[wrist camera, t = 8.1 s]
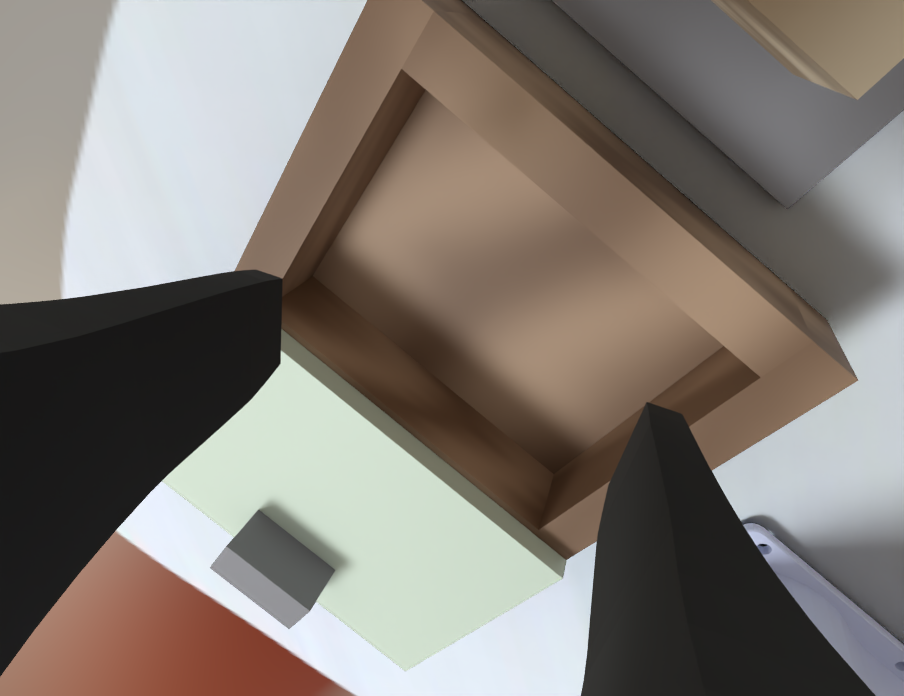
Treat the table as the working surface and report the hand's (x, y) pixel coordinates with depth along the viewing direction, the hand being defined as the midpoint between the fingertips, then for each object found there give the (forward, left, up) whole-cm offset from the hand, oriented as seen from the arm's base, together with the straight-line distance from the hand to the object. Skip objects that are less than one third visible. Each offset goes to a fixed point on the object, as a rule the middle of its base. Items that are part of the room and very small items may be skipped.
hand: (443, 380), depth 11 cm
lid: (-1, +12, -6) cm, 14 cm away
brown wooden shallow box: (-1, +7, -9) cm, 12 cm away
